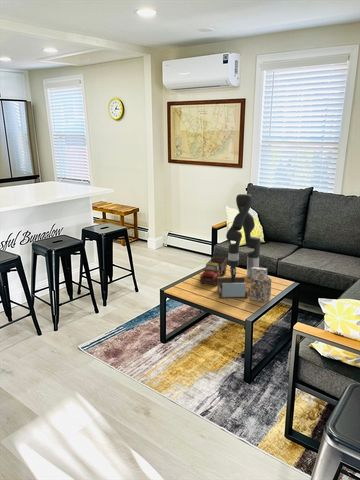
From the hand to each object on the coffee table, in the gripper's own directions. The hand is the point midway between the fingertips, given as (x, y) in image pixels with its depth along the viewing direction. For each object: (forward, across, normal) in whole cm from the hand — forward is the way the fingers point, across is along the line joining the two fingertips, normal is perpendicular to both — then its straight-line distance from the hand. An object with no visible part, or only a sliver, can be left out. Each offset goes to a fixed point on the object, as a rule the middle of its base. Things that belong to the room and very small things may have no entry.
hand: (232, 281), depth 266 cm
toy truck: (+12, -35, -10) cm, 38 cm away
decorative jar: (+12, +4, +19) cm, 23 cm away
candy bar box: (+11, -14, +21) cm, 28 cm away
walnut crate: (+11, -4, 0) cm, 12 cm away
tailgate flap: (+9, +4, 0) cm, 10 cm away
